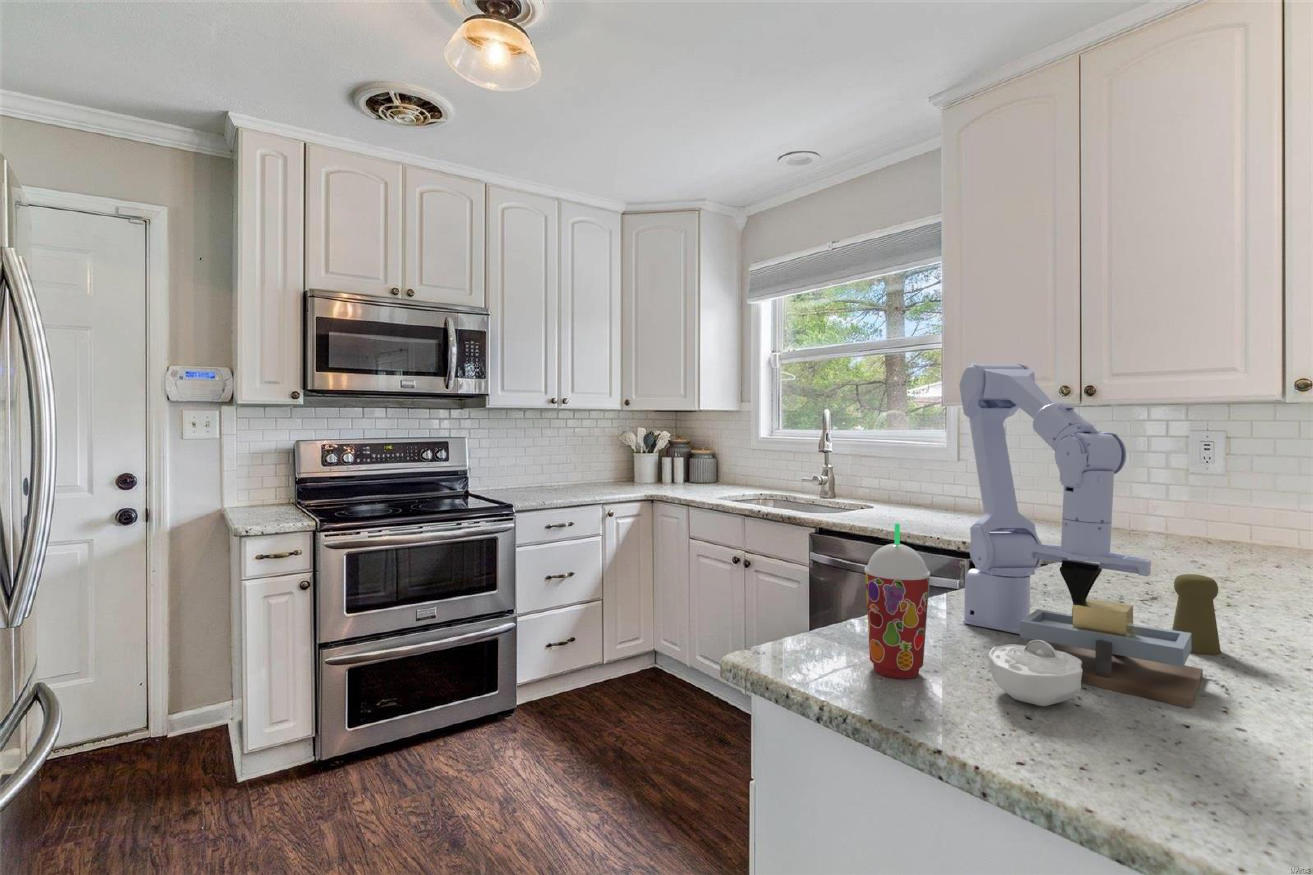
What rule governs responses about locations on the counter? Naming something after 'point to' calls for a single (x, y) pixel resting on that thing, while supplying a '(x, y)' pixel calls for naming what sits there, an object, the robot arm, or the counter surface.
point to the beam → (1109, 638)
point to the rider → (1104, 617)
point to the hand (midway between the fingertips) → (1081, 618)
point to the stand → (1135, 674)
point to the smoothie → (897, 609)
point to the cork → (1197, 612)
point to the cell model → (1036, 672)
